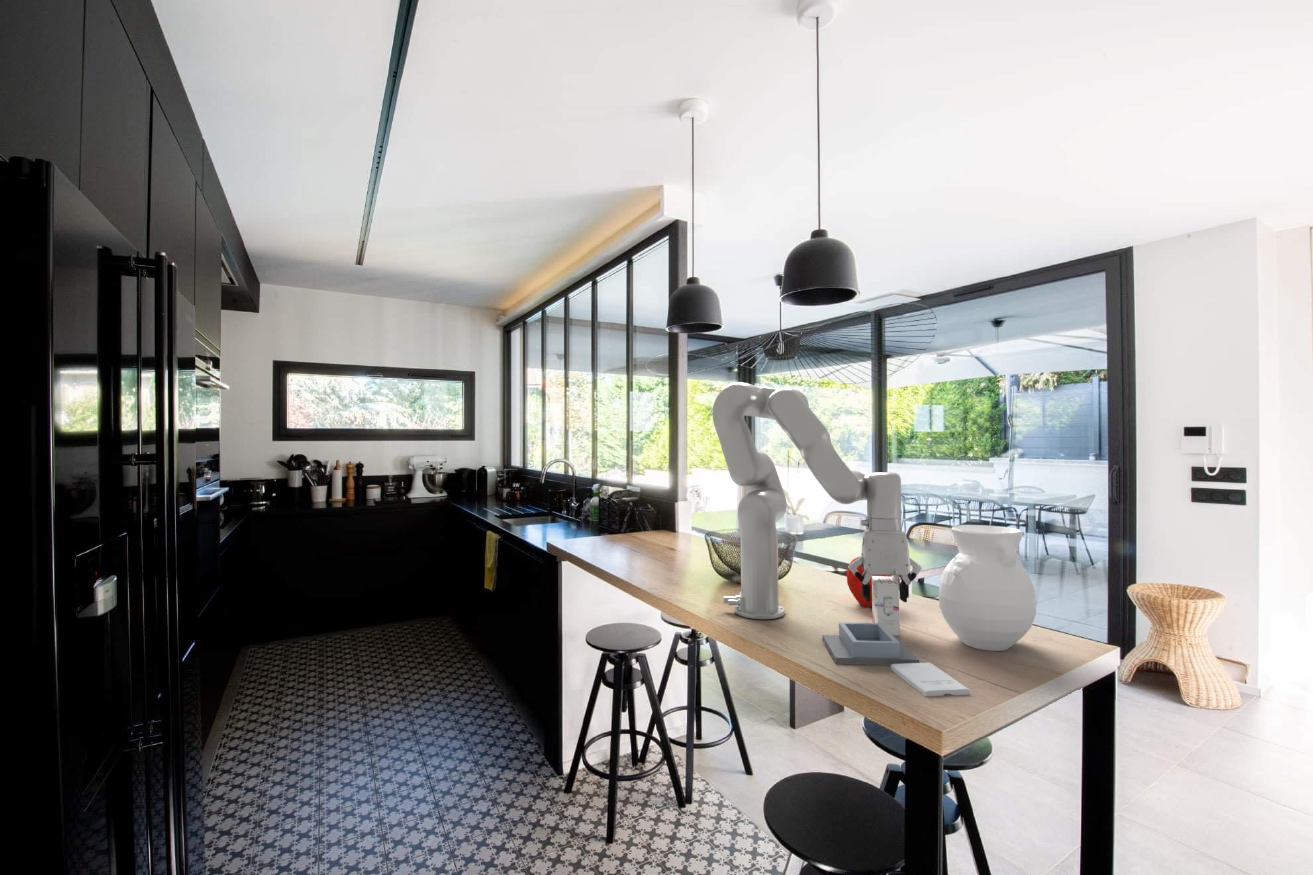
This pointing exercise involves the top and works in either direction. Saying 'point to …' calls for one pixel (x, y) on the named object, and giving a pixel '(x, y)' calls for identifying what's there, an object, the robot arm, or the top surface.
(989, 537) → the white vase
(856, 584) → the apple
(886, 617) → the ink cartridge box
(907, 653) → the dock
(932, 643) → the top surface
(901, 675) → the external hard drive
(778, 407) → the robot arm
